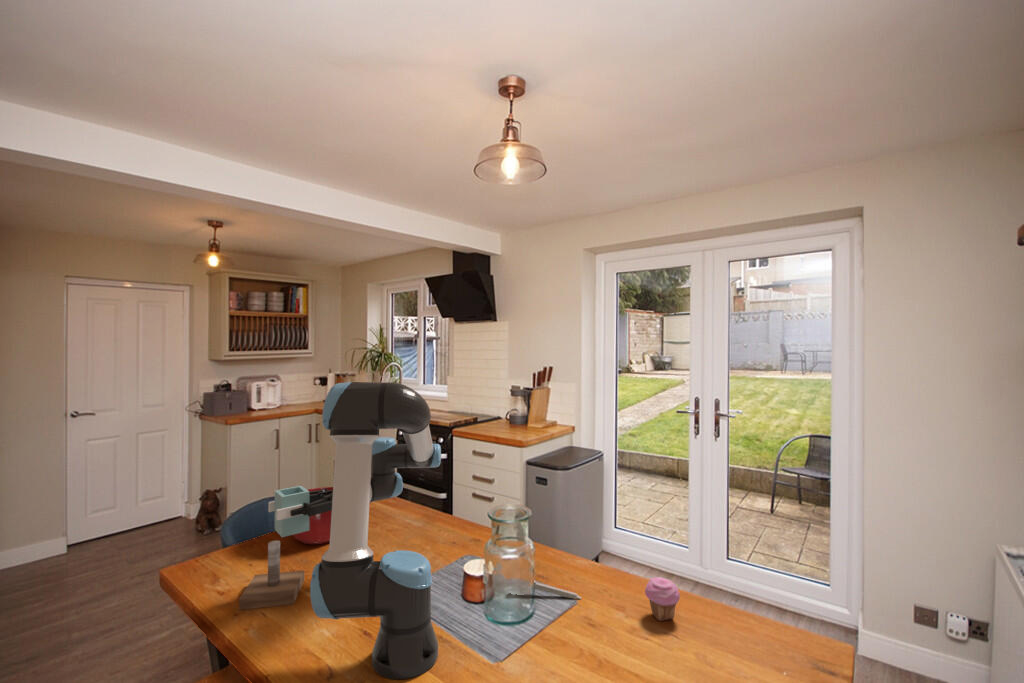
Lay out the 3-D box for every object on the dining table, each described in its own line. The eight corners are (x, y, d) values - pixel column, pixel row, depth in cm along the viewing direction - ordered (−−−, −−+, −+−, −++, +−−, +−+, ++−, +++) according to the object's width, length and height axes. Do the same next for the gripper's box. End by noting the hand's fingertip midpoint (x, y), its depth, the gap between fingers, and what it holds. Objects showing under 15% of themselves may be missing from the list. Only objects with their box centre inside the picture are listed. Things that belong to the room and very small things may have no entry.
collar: (309, 530, 134) (309, 491, 134) (281, 537, 129) (282, 497, 129) (301, 522, 139) (301, 485, 139) (274, 529, 135) (274, 490, 135)
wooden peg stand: (293, 604, 134) (294, 550, 134) (239, 609, 131) (239, 555, 131) (304, 580, 148) (304, 531, 148) (255, 584, 145) (255, 535, 145)
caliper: (511, 594, 140) (511, 573, 140) (512, 592, 142) (512, 571, 142) (581, 600, 137) (581, 578, 137) (581, 598, 138) (581, 577, 138)
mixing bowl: (279, 530, 187) (280, 490, 188) (355, 519, 200) (355, 482, 200) (277, 559, 162) (278, 514, 162) (364, 545, 174) (364, 502, 174)
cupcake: (656, 628, 124) (656, 589, 124) (639, 610, 132) (639, 574, 132) (686, 623, 126) (686, 585, 126) (667, 605, 134) (667, 570, 134)
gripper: (367, 515, 138) (283, 536, 123) (340, 497, 154) (263, 514, 139) (367, 489, 138) (283, 507, 123) (340, 474, 154) (263, 488, 139)
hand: (272, 511), depth 131 cm, fingers closed on collar, 7 cm apart
